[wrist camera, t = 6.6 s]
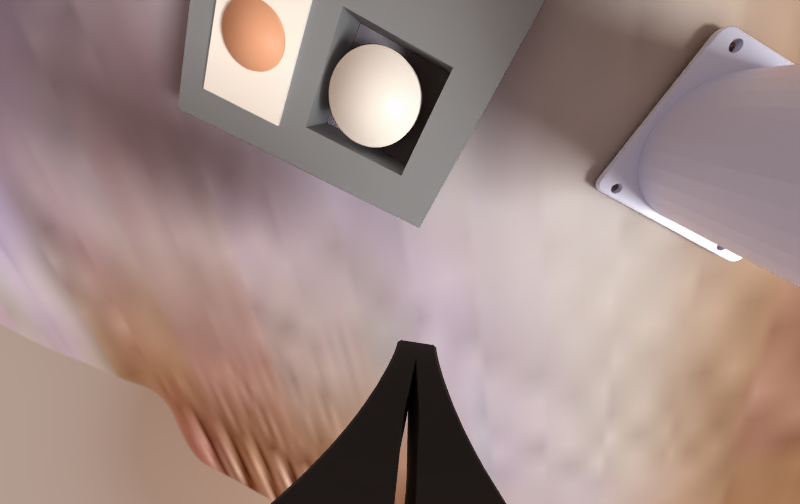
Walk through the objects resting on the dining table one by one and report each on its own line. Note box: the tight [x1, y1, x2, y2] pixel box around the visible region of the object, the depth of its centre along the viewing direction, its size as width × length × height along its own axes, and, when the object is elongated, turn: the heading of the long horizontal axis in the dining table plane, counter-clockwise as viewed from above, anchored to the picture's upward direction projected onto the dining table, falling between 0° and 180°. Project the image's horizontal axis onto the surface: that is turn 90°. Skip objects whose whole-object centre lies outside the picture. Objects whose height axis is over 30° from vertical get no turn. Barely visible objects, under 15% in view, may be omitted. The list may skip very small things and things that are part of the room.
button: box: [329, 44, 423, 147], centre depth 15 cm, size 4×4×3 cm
